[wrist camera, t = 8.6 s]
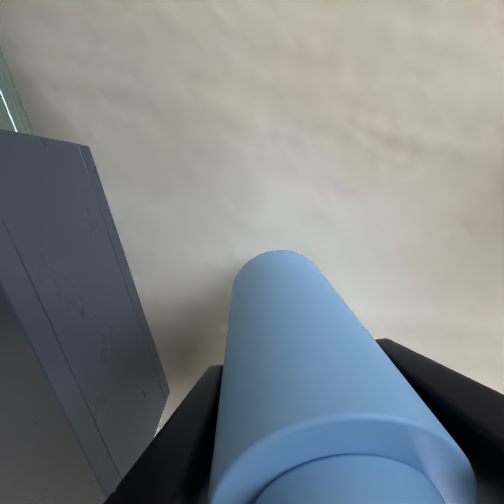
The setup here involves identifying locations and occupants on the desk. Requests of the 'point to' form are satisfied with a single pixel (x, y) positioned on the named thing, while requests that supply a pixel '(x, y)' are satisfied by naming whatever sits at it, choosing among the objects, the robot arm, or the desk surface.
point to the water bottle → (320, 404)
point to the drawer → (11, 103)
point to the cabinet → (68, 332)
